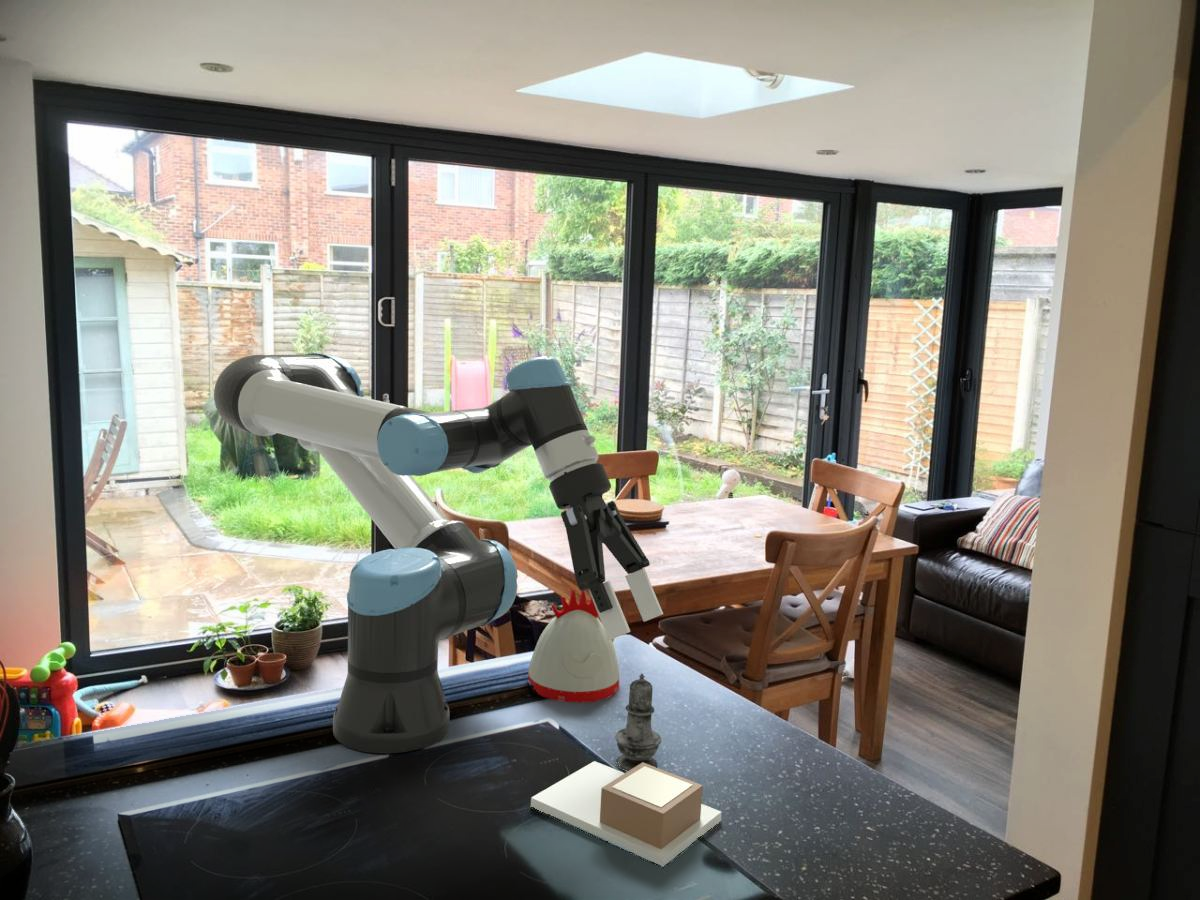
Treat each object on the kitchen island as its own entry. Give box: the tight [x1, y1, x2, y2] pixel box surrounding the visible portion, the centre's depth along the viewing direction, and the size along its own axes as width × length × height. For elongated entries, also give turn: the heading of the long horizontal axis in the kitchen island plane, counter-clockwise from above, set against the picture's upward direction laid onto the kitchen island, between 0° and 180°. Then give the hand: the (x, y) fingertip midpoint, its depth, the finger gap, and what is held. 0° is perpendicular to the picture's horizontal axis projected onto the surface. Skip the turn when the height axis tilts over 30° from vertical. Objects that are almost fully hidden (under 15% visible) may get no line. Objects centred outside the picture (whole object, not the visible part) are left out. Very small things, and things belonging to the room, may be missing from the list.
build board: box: [530, 760, 722, 866], centre depth 108 cm, size 18×12×5 cm, turn 53°
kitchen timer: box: [527, 587, 620, 703], centre depth 144 cm, size 14×14×15 cm
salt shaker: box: [614, 673, 662, 771], centre depth 119 cm, size 6×6×12 cm
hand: (637, 626), depth 120 cm, fingers open, 13 cm apart
